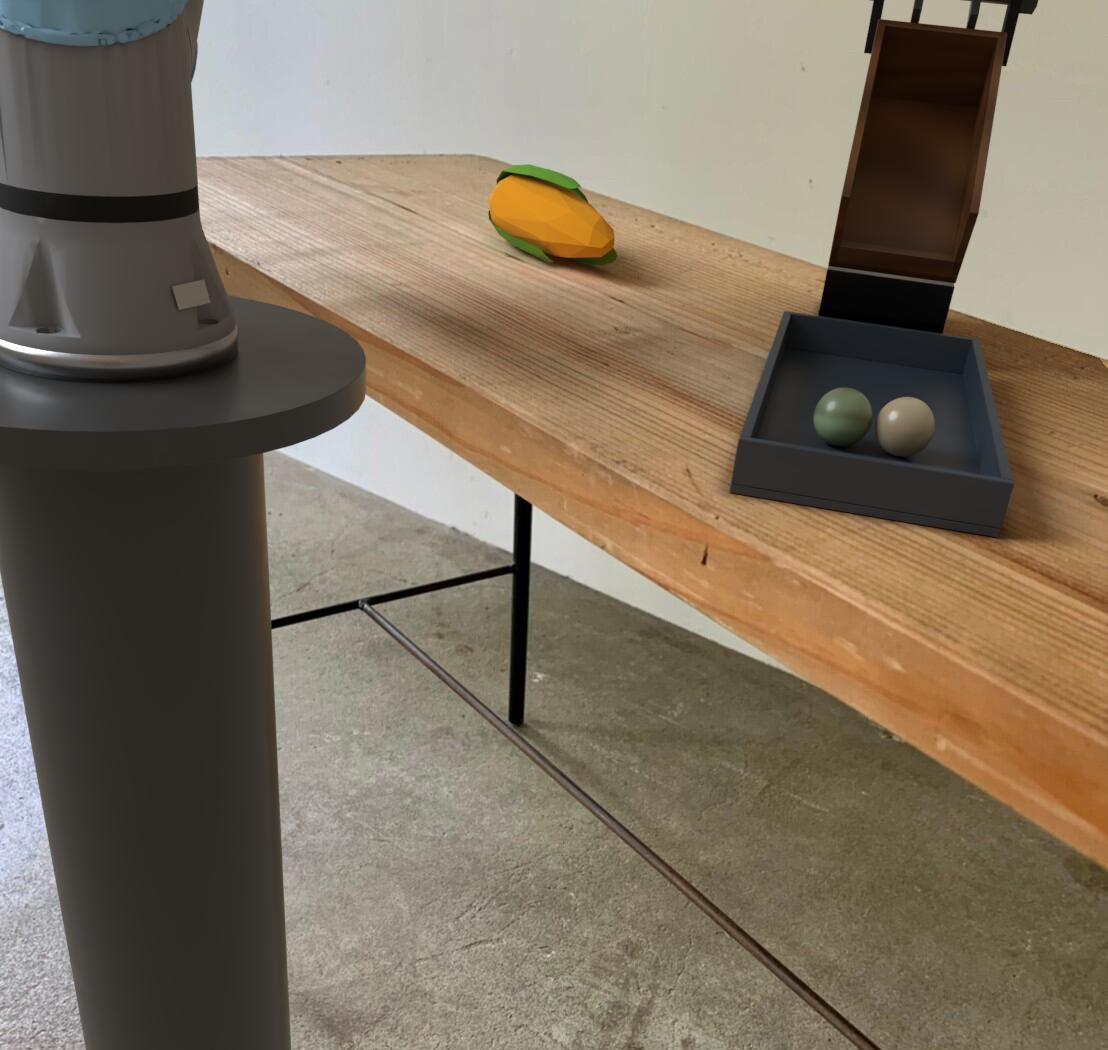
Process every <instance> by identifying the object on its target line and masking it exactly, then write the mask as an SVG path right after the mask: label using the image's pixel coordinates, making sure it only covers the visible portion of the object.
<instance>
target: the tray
mask: <svg viewBox="0 0 1108 1050" xmlns="http://www.w3.org/2000/svg"><path fill="white" fill-rule="evenodd" d="M767 355H768V356H767V358H766V361H765V363H764V366H763V369H762V371H761V375H760V377H759V381H758V383H757V386H756V388H755V392H754V395H753V397H752V400H751V403H750V406H749V409H748V411H747V414H746V417H745V420H744V423H743V425H742V429H741V431H740V434H739V437H738V440H737V445H736V451H735V457H734V463H733V468H732V469H733V470H732V474H731V480H730V486H729V494H730V493H731V494H736V495H743V496H748V497H753V498H760V499H766V500H772V501H777V502H785V503H790V504H795V505H801V506H809V507H814V508H820V509H827V510H830V511H837V512H844V513H849V514H856V515H862V516H868V517H874V518H878V519H885V520H890V521H896V522H902V523H903V522H904V523H907V524H914V525H921V526H926V527H931V528H938V529H944V530H950V531H957V532H963V533H967V534H974V535H980V536H985V537H992V538H998V537H999V535H1000V532H1001V528H1002V525H1003V522H1004V519H1005V516H1006V513H1007V509H1008V505H1009V503H1010V499H1011V497H1012V493H1013V490H1014V486H1015V482H1014V477H1013V473H1012V469H1011V465H1010V461H1009V457H1008V453H1007V449H1006V445H1005V440H1004V436H1003V432H1002V427H1001V423H1000V419H999V414H998V411H997V407H996V401H995V398H994V394H993V391H992V386H991V382H990V378H989V374H988V369H987V365H986V360H985V357H984V353H983V347H982V345H981V339H980V338H975V337H969V336H961V335H954V334H948V333H943V334H941V333H935V332H928V331H921V330H914V329H907V328H900V327H893V326H886V325H879V324H872V323H865V322H858V321H851V320H844V319H837V318H831V317H824V316H818V315H815V314H808V313H802V312H797V311H796V312H795V311H788V310H784V311H783V313H782V316H781V319H780V321H779V324H778V327H777V330H776V333H775V336H774V339H773V341H772V344H771V346H770V350H769V353H768V354H767ZM842 387H848V388H853V389H856V390H858V391H860V392H861V393H862V394H863V395H865V396H866V398H867V399H868V401H869V402H870V405H871V407H872V413H873V418H872V423H871V427H870V429H869V431H868V432H867V434H866V435H865V436H864V437H863V438H862V439H861V440H860V441H859V442H857V443H855V444H853V445H851V446H847V447H836V446H832V445H830V444H828V443H826V442H824V441H823V440H822V439H821V438H820V437H819V435H818V434H817V432H816V430H815V427H814V421H813V416H814V411H815V408H816V406H817V404H818V402H819V401H820V399H821V398H822V397H823V396H824V395H825V394H827V393H828V392H830V391H831V390H834V389H837V388H842ZM901 397H913V398H917V399H919V400H921V401H923V402H924V403H925V404H926V405H927V406H928V407H929V408H930V409H931V411H932V413H933V415H934V419H935V431H934V434H933V437H932V439H931V441H930V442H929V444H928V445H927V446H926V447H925V448H924V449H923V450H922V451H920V452H919V453H917V454H914V455H912V456H907V457H898V456H894V455H891V454H889V453H887V452H886V451H885V450H884V449H882V447H881V446H880V445H879V443H878V441H877V439H876V436H875V422H876V418H877V416H878V414H879V412H880V411H881V410H882V408H883V407H884V406H885V405H886V404H888V403H889V402H891V401H892V400H895V399H897V398H901Z"/></svg>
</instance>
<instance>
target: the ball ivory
mask: <svg viewBox="0 0 1108 1050" xmlns="http://www.w3.org/2000/svg"><path fill="white" fill-rule="evenodd" d="M934 431H935V419H934V415H933V413H932V411H931V409H930V408H929V407H928V406H927V405H926V404H925V403H924V402H923V401H921V400H919V399H917V398H913V397H901V398H897V399H895V400H892V401H891V402H889V403H888V404H886V405H885V406H884V407H883V408H882V410H881V411H880V412H879V414H878V416H877V418H876V422H875V436H876V439H877V441H878V443H879V445H880V446H881V447H882V449H884V450H885V451H886V452H887V453H889V454H891V455H894V456H898V457H907V456H912V455H914V454H917V453H919V452H920V451H922V450H923V449H924V448H925V447H926V446H927V445H928V444H929V442H930V441H931V439H932V437H933V434H934Z"/></svg>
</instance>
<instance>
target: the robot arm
mask: <svg viewBox="0 0 1108 1050" xmlns="http://www.w3.org/2000/svg"><path fill="white" fill-rule="evenodd" d="M870 1H873V2H872V6H871V13H870V19H869V24H868V28H867V34H866V39H865V41H866V42H865V44H864V45H865V46H864V51H863V53H864V54H869V55H871V53H872V48H873V43H874V38H875V34H876V29H877V24H878V20H879V19H882V15H883V10H884V4H885V0H870ZM204 3H205V0H0V365H1V366H3V367H5V368H8V369H10V370H13V371H16V372H20V373H23V374H27V375H32V376H36V377H41V378H47V379H54V380H62V381H71V382H84V383H142V382H155V381H164V380H172V379H178V378H184V377H189V376H194V375H198V374H202V373H205V372H208V371H211V370H214V369H217V368H219V367H221V366H223V365H225V364H227V363H228V362H230V361H231V360H232V359H234V358H235V356H236V355H237V353H238V335H237V322H236V320H235V316H234V312H233V309H232V307H231V304H230V301H229V299H228V296H229V295H228V294H227V291H226V288H225V286H224V282H223V280H222V278H221V274H220V272H219V269H218V266H217V264H216V261H215V259H214V256H213V253H212V251H211V248H210V245H209V242H208V240H207V237H206V234H205V231H204V229H203V225H202V221H201V220H202V219H201V212H200V210H201V209H200V199H199V197H200V195H199V180H198V179H199V178H198V165H197V163H198V162H197V151H196V136H195V121H194V104H193V91H192V90H193V89H192V82H193V80H194V77H195V72H196V70H197V69H196V68H197V63H198V53H199V43H198V38H199V33H200V32H199V31H200V28H201V27H200V26H201V20H202V15H203V8H204ZM1038 3H1039V0H1011V2H1010V4H1009V5H1006V10H1005V14H1004V18H1003V22H1002V26H1001V30H1000V32H1006V33H1007V37H1006V44H1005V50H1004V56H1003V63H1002V67H1007V66H1008V61H1009V56H1010V53H1011V48H1012V43H1013V40H1014V36H1015V33H1016V28H1017V24H1018V20H1019V16H1020V14H1022V15H1023V14H1024V15H1033V14H1034V12H1035V11H1036V9H1037V7H1038Z"/></svg>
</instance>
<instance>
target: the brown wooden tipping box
mask: <svg viewBox="0 0 1108 1050" xmlns="http://www.w3.org/2000/svg"><path fill="white" fill-rule="evenodd" d="M962 1H964V2H969V3H970V4H969V9H968V15H967V20H966V27H959V26H958V27H957V26H949V25H938V24H931V23H920V19H921V15H922V10H923V5H924V0H914V2H913V7H912V11H911V17H910V21H901V20H892V19H882V18H881V19H879V20H878V24H877V29H876V34H875V38H874V43H873V48H872V53H871V54H870V58H869V62H868V67H867V73H866V77H865V83H864V85H863V90H862V96H861V101H860V105H859V111H858V115H857V120H856V125H855V129H854V134H853V139H852V143H851V147H850V153H849V158H848V163H847V166H846V167H847V168H846V172H845V177H844V180H843V181H844V182H843V186H842V190H841V196H840V201H839V206H838V211H837V217H836V222H835V226H834V233H833V238H832V242H831V248H830V254H829V258H828V259H829V260H828V265H827V267H828V266H832V267H839V268H847V269H854V270H861V271H868V272H876V273H883V274H890V275H897V276H905V277H912V278H919V279H926V280H934V281H941V282H948V283H954V284H956V283H957V282H958V281H957V280H958V278H959V274H960V271H961V268H962V265H963V262H964V260H965V256H966V253H967V249H968V247H969V244H970V241H971V238H972V236H973V232H974V230H975V226H976V223H977V221H978V217H979V214H980V210H981V209H980V208H981V202H982V196H983V190H984V182H985V177H986V171H987V163H988V157H989V151H990V146H991V145H990V144H991V137H992V133H993V126H994V118H995V113H996V107H997V99H998V95H999V94H998V93H999V87H1000V81H1001V75H1002V68H1003V66H1002V63H1003V56H1004V50H1005V44H1006V37H1007V33H1006V32H1001V31H996V30H987V29H979V28H978V29H976V26H977V22H978V19H979V15H980V9H981V3H982V4H983V3H984V4H992V5H993V4H994V5H1001V6H1007V5H1009V4H1010V2H1011V0H962Z"/></svg>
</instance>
